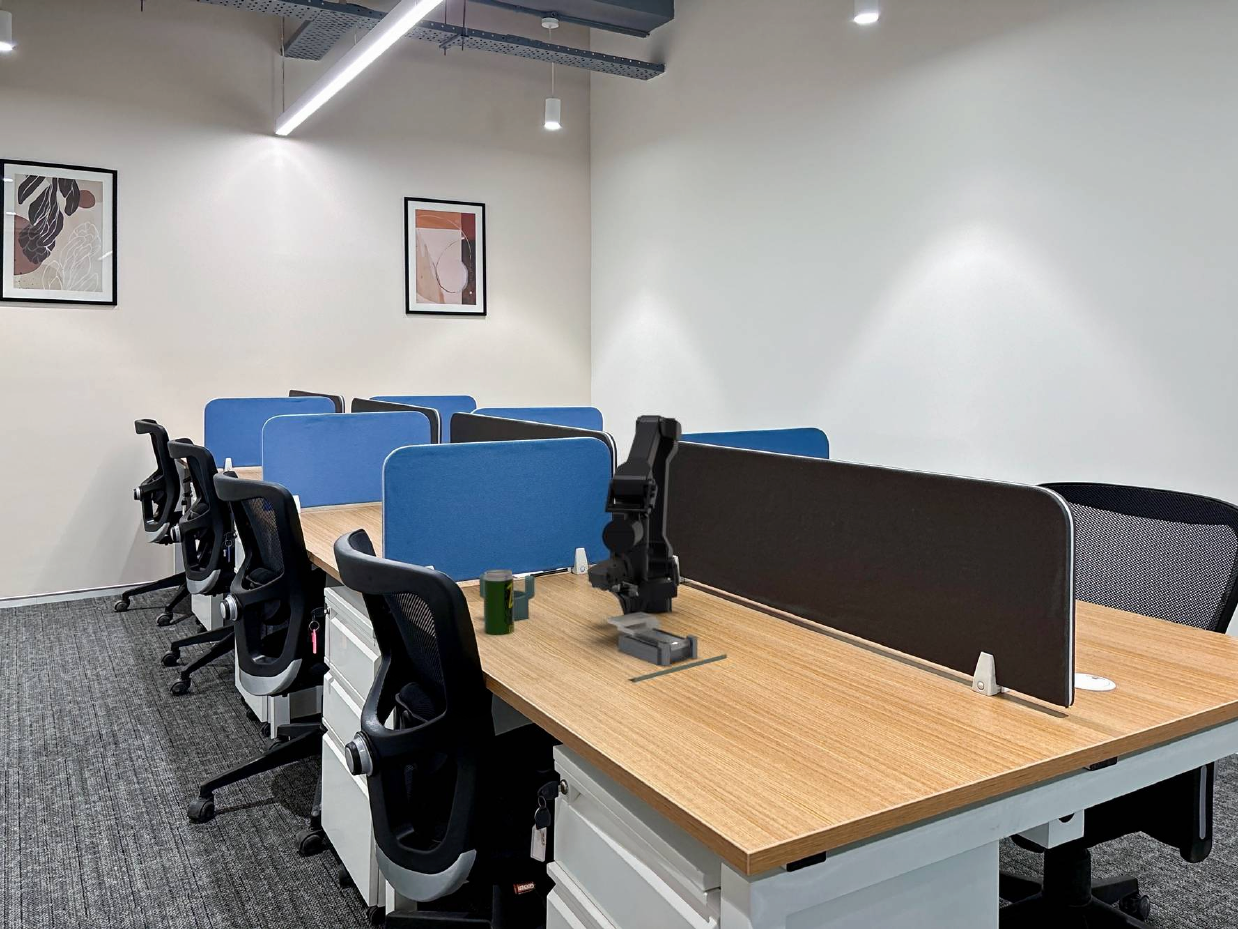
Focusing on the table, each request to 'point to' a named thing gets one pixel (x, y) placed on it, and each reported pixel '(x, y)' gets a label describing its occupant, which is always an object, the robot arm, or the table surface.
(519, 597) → the bracket
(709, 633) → the table surface
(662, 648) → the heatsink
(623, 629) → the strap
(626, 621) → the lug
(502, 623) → the beer can
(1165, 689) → the table surface
